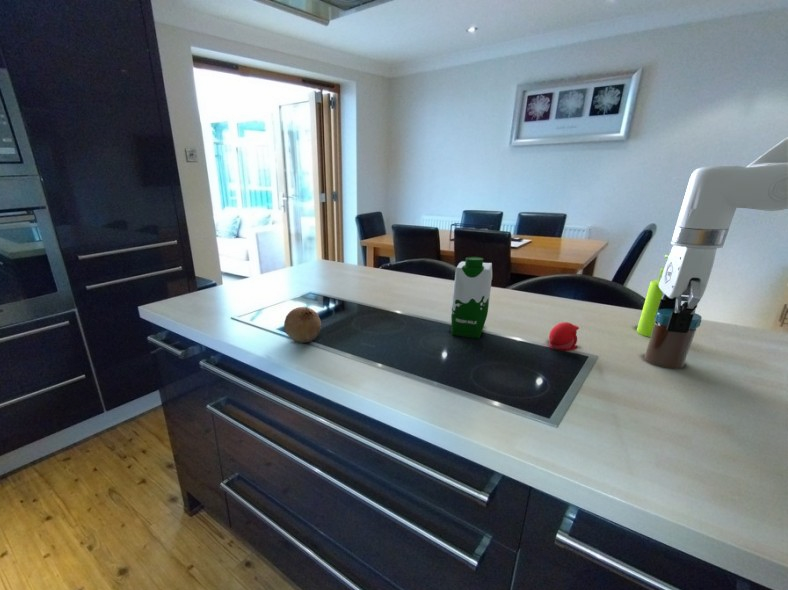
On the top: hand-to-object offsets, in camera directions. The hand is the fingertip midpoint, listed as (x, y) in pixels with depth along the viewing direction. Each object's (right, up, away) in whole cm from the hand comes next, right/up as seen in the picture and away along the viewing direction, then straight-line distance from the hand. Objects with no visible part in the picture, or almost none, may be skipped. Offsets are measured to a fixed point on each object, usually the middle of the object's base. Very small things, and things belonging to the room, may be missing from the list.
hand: (670, 324), depth 80 cm
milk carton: (-34, -2, +23) cm, 41 cm away
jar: (+1, -9, +3) cm, 9 cm away
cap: (-15, -5, +13) cm, 20 cm away
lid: (+1, +2, -1) cm, 2 cm away
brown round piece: (-77, -4, +22) cm, 80 cm away
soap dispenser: (+12, -2, +19) cm, 22 cm away
